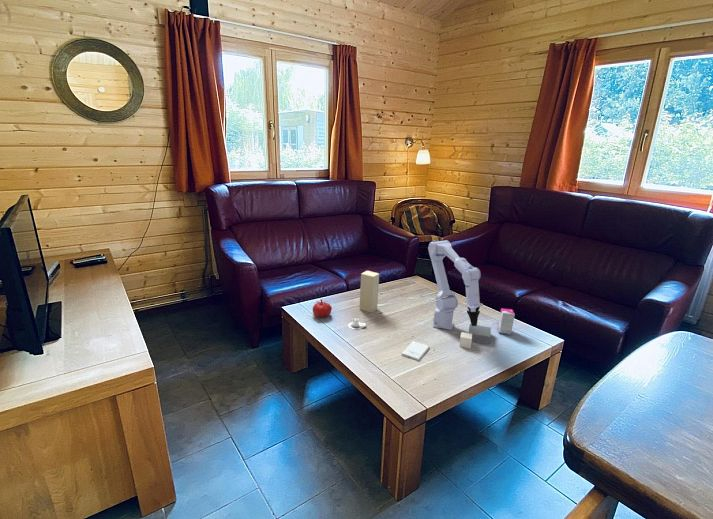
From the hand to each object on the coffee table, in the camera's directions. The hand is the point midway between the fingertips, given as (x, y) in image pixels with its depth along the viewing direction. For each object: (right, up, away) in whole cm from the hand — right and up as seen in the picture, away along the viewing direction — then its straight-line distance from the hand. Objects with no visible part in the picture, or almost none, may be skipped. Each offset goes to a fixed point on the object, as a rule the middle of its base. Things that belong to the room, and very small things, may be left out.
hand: (474, 323), depth 175 cm
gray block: (+5, -9, +10) cm, 15 cm away
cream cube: (-3, -10, +3) cm, 11 cm away
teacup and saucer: (-54, -6, +15) cm, 56 cm away
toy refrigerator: (-47, +2, +37) cm, 60 cm away
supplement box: (+20, -7, +16) cm, 26 cm away
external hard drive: (-28, -13, -4) cm, 31 cm away
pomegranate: (-73, -1, +28) cm, 78 cm away
